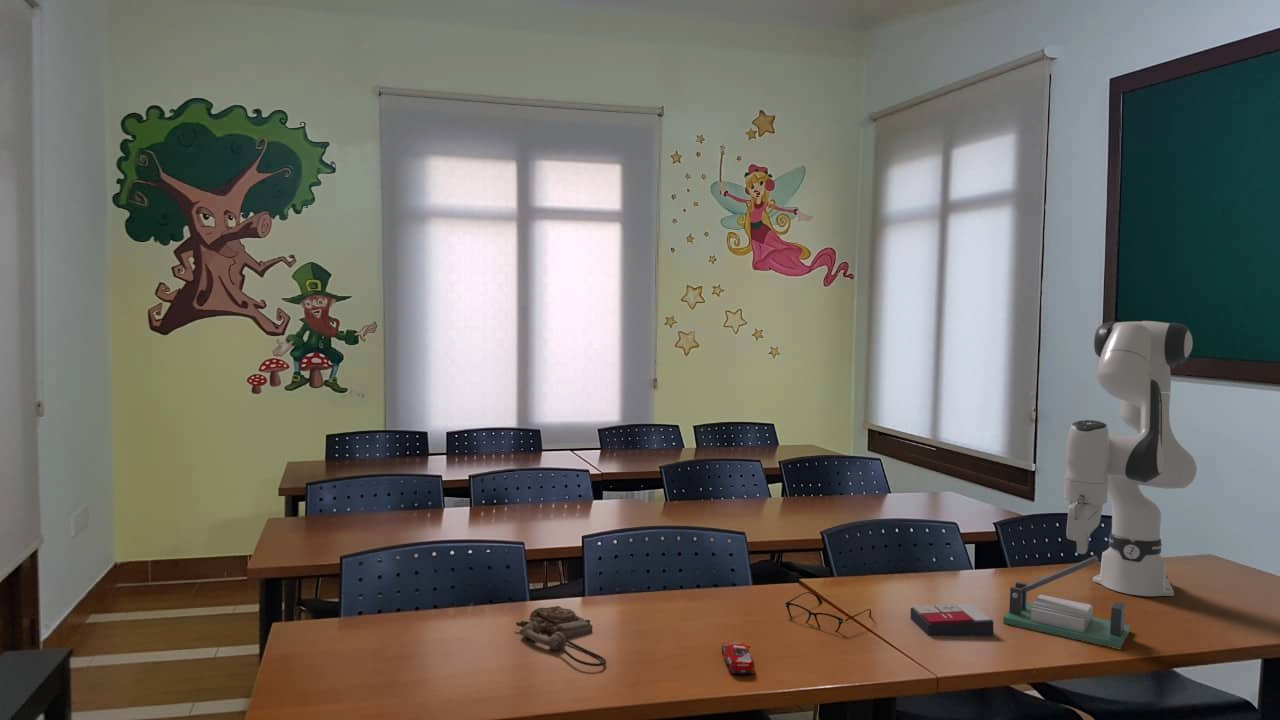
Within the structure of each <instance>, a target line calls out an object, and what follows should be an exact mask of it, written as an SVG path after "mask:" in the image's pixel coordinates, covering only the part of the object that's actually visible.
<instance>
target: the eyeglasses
mask: <svg viewBox="0 0 1280 720" xmlns="http://www.w3.org/2000/svg"><path fill="white" fill-rule="evenodd" d="M805 594H811V595H813V596H814V597H815V598H816V600H817V602H818V604H823V603H824V602H823V601H822V599H821V598H820V597H819V595H817V594H816V593H814V592H809V591H808V592H803V593H801V594H800V595H798V596H796V597H794V598H792V599H790V600H789V601H787V602H785V603H784V605H785V607H786V608H787V613H788V615H789V617H790V618H791V619H793V616H792V614H791V611H790V606H794V607H798V608H799V609H802V610H804V611H805V612H808V618H807V620H806V621H805V624H807V623H808V622H809V621H810V620H812V616H813V617H814V619H815V622H816V625H817V626H818V628H821V625H820V623H819V621H818V617H817V616H818V615H821V616H828V617H831V618H834V619H837V620H838V626H837V629H836V630H834V632H836V633H837V632H839V630H840V627H841V625H842V624H843V623H846V622H848V621H849V620H852V619H853V618H855V617H858V616H859V615H861V614H863V613H865V612H867V611H869V615H868V617H869V618H871V616H872V610H871V609H870V608H867V609H866V610H863V611H861V612H859V613H857V614H855V615H852V616H850V617H849V618H846V619H843V618H841V617H839V616H836V615H833V614H830V613H825V612H813V611H810V609H807V608H805V607H804V606H802V605H799V604H796V603H792V601H794V600H796V599H797V598H800V597H801V596H803V595H805Z"/></svg>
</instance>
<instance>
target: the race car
mask: <svg viewBox="0 0 1280 720" xmlns="http://www.w3.org/2000/svg"><path fill="white" fill-rule="evenodd" d="M749 648H751V646H750V645H747V644H746V643H744V642H739V641H736V640H735V641H727V642H726V641H725V642H724V643H723V644H722V646H721V654H722V656H723V659H724V661H725V665H726V668H727V670H728V672H729V673H731V674H736V675H751V674H752V675H753V674H754V673H755V661H754V658H753V656H752V654H751V651H750V650H749Z"/></svg>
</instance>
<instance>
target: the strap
mask: <svg viewBox="0 0 1280 720" xmlns="http://www.w3.org/2000/svg"><path fill="white" fill-rule="evenodd" d="M1099 560H1100V558H1098V556H1097V555H1094V556H1092V557H1089V558H1087V559H1084V560H1083V561H1080V562H1078V563H1076V564H1073V565H1071V566H1069V567H1065V568H1064V569H1060V570H1059V571H1057V572H1054V573H1051V574H1050V575H1047V576H1045V577H1042V578H1040V579H1038V580H1035V581H1034V582H1031V583H1029V584H1028V583H1027V585H1026V586H1024V587H1022V588H1021V589H1023V591H1022V594H1023V593H1026V592H1027V593H1028V592H1030V591H1033V590H1034V589H1037V588H1039V587H1042V586H1044V585H1046V584H1049V583H1052V582H1053V581H1056V580H1059V579H1061V578H1063V577H1066V576H1067V575H1070V574H1072V573H1075V572H1077V571H1080V570H1082V569H1084V568H1086V567H1089V566H1091V565H1093V564H1096V563H1097V562H1098V561H1099Z"/></svg>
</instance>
